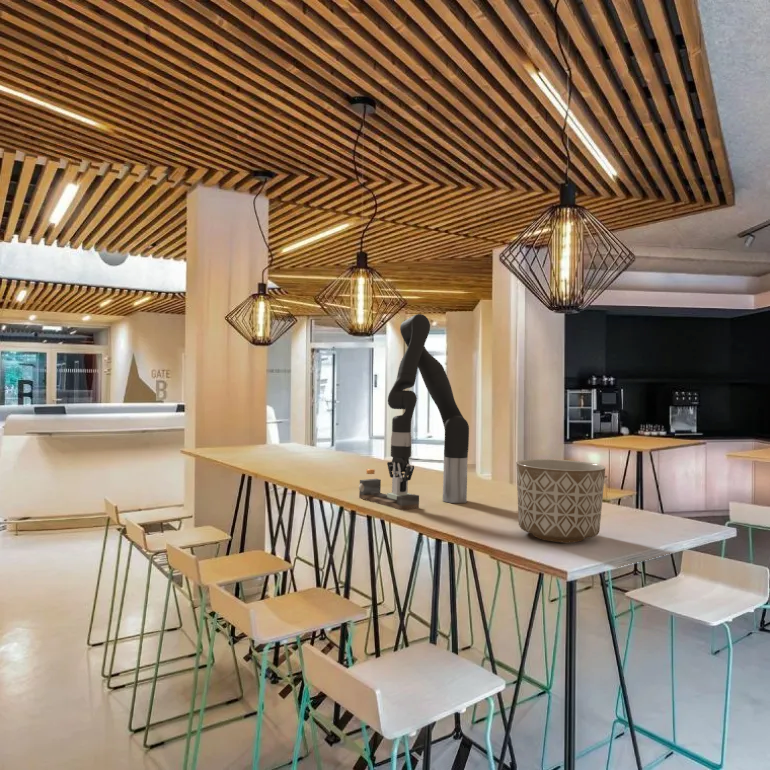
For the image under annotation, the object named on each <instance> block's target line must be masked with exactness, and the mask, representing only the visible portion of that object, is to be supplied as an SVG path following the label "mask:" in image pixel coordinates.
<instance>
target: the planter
mask: <svg viewBox="0 0 770 770" xmlns="http://www.w3.org/2000/svg"><path fill="white" fill-rule="evenodd" d="M605 476H606V466H604V465H602V464H598V463H593V462H586V461H580V460H568V459H551V458H550V459H549V458H547V459H546V458H545V459H544V458H540V459H539V458H535V459H533V458H532V459H521V460H517V461H516V484H517V485H516V487H517V512H518V526H519V528H520V529H521V530H523V531H525V532H527V533H529V534H532V535H533V537H535V538H537V539H539V540H543V541H548V542H555V543H556V542H557V543H579V542H582V541H584V539H590V538H592V537H596V536H598V534H600V531H601V530H600V529H601V519H602V508H603V499H604V497H603V496H604V486H605V478H606V477H605Z"/></svg>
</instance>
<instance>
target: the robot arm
mask: <svg viewBox="0 0 770 770" xmlns="http://www.w3.org/2000/svg"><path fill="white" fill-rule="evenodd" d="M430 331H431V324H430V320H429V318H428V317H427V316H425V315H424V314H423V313H422V314H421V313H417V314H414V315H412V316H410V317H409V318H407V319H406V320H404V321H402V322H401V324H400V328H399V332H400V334H401V337H402V340H403V341H404V343H405V344H406V347H407V348H406V351H405V352H404V354H403V355H402V358H401V361H400V363H399V367H398V370H397V375H396V376H397V377H396V379H395V381H394V383H393V386H391V387H392V388H391V389H390V391H389V393H388V396H387V404H388V407H389V408H390V409H392V410H405V411H404V412H403V414H400V415H395V416H393V417H392V420H391V421H392V422H391V438H390V457H392V459H391V460H390V461H387V469H388V473H389V477H390V478H392V477H400V481H401V482H400V492H405V491H406V482H407V481H408V482H409V481H411V480H412V476H413V472H414V470H415V466H414V465H411V464H410V461H409V460H410V458H411V456H412V433H411V432H412V419H413V414H414V410H415V408H416V406H417V405H416V404H417V401H418V399H417V397H418V396H417V394H416V393H415V392H414V391H413V390H408V389H410V388H413V387H414V386H415V383H416V379H417V375H418V374H417V373H418V371H419V372H420V375H421V377H422V380H423V381H422V382H423V383H424V385H425V388H426V390H427V391H428V393H429V395H430V397H431V399H432V400H433V402H434V404H435V406H436V407H437V409H438V411H439V415H440V417H441V420H442V425H443V427H444V448H443V473H442V474H443V476H442V479H443V480H442V483H443V484H442V501H443V502H445V503H450V504H451V503H452V504H462V503H463V504H465V503H466V504H467V502H468V501H467V498H468V496H467V495H468V493H467V492H468V461H469V460H468V457H469V456H468V455H469V454H468V453H469V443H470V441H469V440H470V426H469V422H468V421H467V420H466V419H465V417H464V416H463V414H462V413H461V411H460V409H459V407H458V404H457V403H456V400H455V397H454V393H453V389H452V385H451V383H450V379H449V376H448V375H447V373H446V371H445V368H444V366H443V365H442V363H441V362H440V361H438V359H436V358H435V357H434V356H433V355H432V354H430V352H429V351H428V350H427V348H426V347H425V345H426V343H427V339H428V336H429V333H430ZM403 477H404V478H403Z"/></svg>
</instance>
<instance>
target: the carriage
mask: <svg viewBox="0 0 770 770" xmlns="http://www.w3.org/2000/svg"><path fill="white" fill-rule="evenodd" d="M403 478H404V476H403ZM400 482H401V481H400V477H392V479H391V492H386V494H387V497H388V498H392V499H395V500H397V496H402V495H412V493H409V492H408V490H409V489H408V488H409V487H408V485H409V480H408V481H407V482H406V491H405V492H400Z"/></svg>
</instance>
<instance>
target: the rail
mask: <svg viewBox="0 0 770 770" xmlns="http://www.w3.org/2000/svg"><path fill="white" fill-rule="evenodd" d="M381 486H382V485H381V479H379V478H367V479H359V485H358V491H359V496H358V497H359V499H362V500H366V501H369V502H372V503H376V504H380V505H382V506H386V507H390V508H393V509H397V510H401V511H404V510H412V509H418V508H419V507H420V495H419V494H415V493H413V494H412V493H411V494H412V495H402V496H397V500H395V499H392V498H388V497H387V493H382V492H381Z"/></svg>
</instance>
